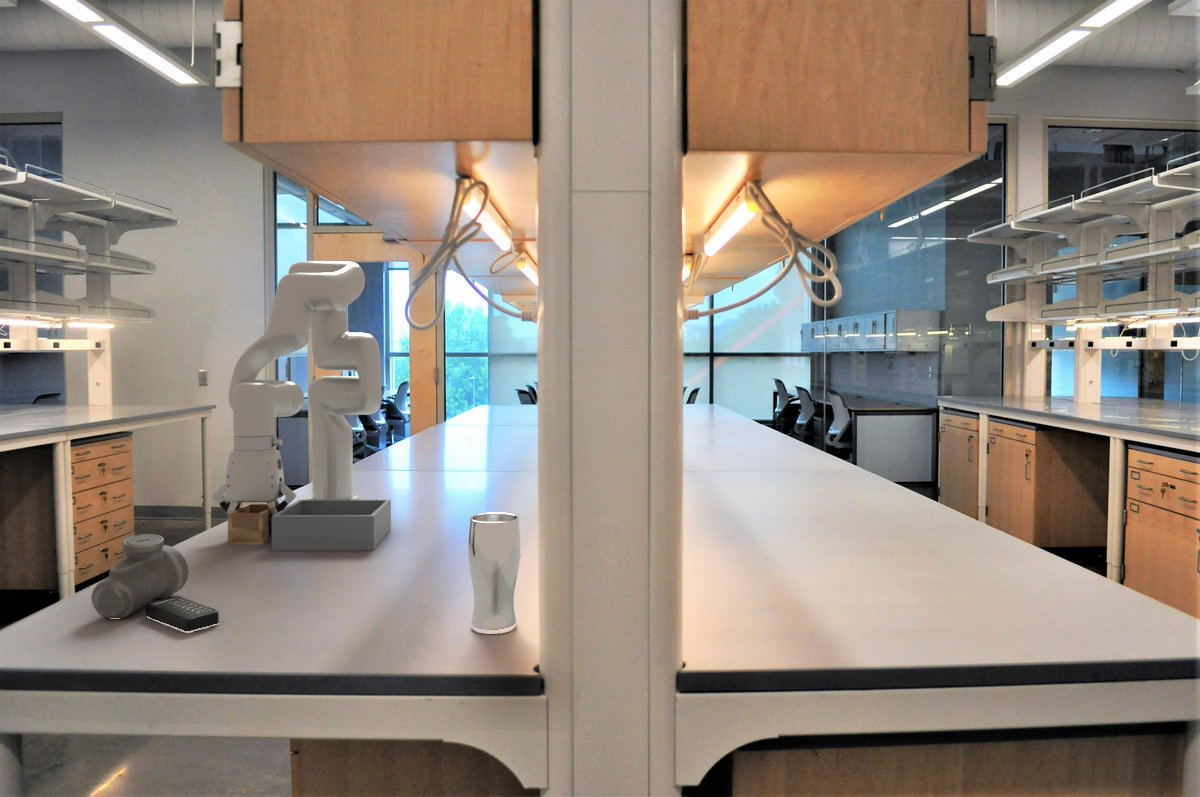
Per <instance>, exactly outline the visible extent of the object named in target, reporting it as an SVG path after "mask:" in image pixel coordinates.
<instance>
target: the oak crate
mask: <svg viewBox="0 0 1200 797" xmlns="http://www.w3.org/2000/svg"><path fill="white" fill-rule="evenodd" d="M270 515H271V512H270V509H269V507H268V505H267V503H247V504H245V505H243V506H242V505H241V506H240V508H238V509H236V510H234V511H232V512H230V513H228V515H227V544H228V545H264V544H265V543H267V542H268V541H270V540H272V535H269V516H270Z"/></svg>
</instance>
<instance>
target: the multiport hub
mask: <svg viewBox="0 0 1200 797" xmlns="http://www.w3.org/2000/svg"><path fill="white" fill-rule="evenodd" d="M219 613H220V612H219V610H218V609H215V608H213V607H210V606H206V605H205V604H201V603H198V602H195V601H193V600H189V599H187V598H184V597H181V596H178V595H177V596H172V597H171V596H170V597H167V598H163V599H158V600H156V601H152V602H151V601H150V602H148V603H146V604H145V617H146V616H148V617H150V618H152V619H155V620H158V621H160V622H163V623H166V624H169V625H171V626H174V627H177V628H179V629H182V630H184V631H191V630H195V629H198V628H202V627H206V626H210V625H213V624H217V623H220V622H219V621H220V620H219V619H220V617H219V615H220V614H219Z"/></svg>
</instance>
